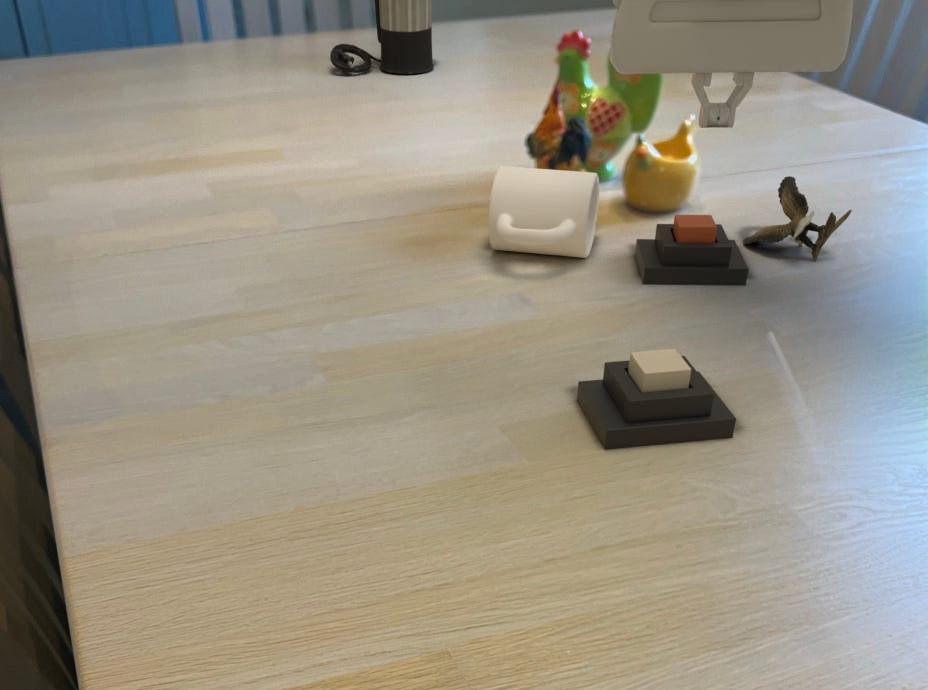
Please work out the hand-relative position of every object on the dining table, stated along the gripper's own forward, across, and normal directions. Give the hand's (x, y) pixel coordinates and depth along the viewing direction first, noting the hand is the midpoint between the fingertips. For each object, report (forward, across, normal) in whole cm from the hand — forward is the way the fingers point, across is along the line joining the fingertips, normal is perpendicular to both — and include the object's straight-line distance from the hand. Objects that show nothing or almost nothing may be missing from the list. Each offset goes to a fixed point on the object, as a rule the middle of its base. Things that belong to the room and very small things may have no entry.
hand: (715, 126), depth 93 cm
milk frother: (+12, -40, +90) cm, 99 cm away
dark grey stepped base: (+13, -1, 0) cm, 13 cm away
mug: (+13, -16, +4) cm, 21 cm away
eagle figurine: (+14, +10, +6) cm, 18 cm away
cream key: (+10, -8, -31) cm, 33 cm away
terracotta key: (+10, -1, 0) cm, 10 cm away
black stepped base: (+14, -8, -30) cm, 34 cm away
